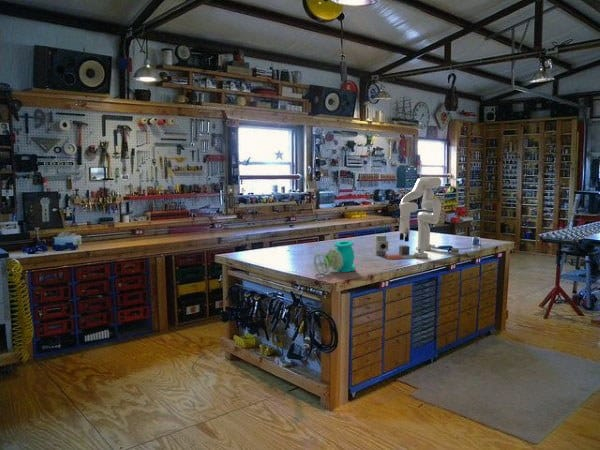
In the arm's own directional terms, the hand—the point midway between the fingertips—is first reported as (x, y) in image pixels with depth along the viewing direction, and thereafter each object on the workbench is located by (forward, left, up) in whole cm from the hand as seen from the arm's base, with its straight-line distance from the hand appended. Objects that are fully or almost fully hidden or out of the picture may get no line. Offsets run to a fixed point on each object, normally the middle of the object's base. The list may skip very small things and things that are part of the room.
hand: (404, 240), depth 388 cm
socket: (-1, 0, -11) cm, 11 cm away
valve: (+69, +51, -12) cm, 86 cm away
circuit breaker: (+17, -3, -12) cm, 21 cm away
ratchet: (+3, +13, -11) cm, 17 cm away
